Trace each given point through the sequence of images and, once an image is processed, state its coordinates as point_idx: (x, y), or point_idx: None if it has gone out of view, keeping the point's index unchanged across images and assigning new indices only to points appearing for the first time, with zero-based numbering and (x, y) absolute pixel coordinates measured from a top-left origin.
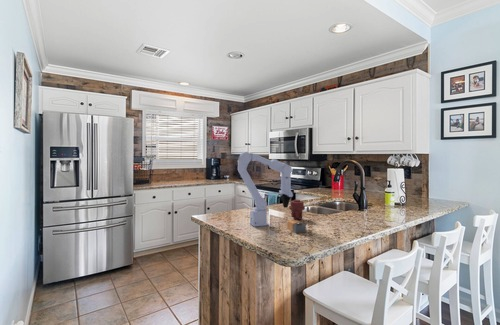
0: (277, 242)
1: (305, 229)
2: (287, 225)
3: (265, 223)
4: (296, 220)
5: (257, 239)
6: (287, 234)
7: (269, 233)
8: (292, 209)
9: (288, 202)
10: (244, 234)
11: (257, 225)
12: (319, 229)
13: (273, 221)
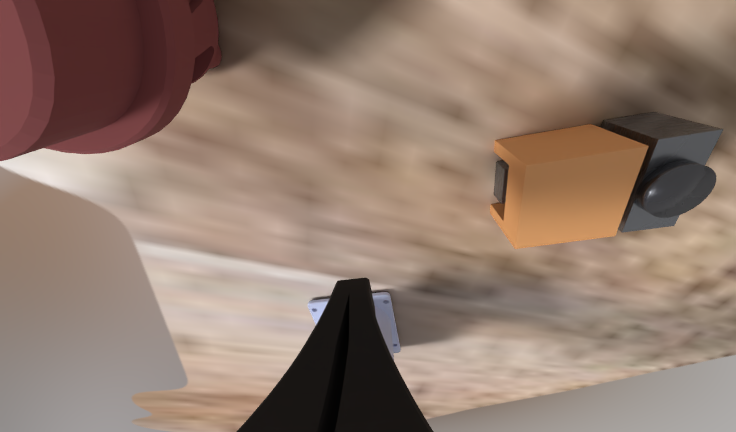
0: (685, 313)
1: (674, 120)
2: (501, 225)
3: (382, 314)
4: (543, 172)
5: (590, 360)
6: (609, 246)
7: (537, 314)
8: (170, 119)
9: (381, 338)
10: (501, 382)
11: (396, 341)
12: None
13: (283, 249)
